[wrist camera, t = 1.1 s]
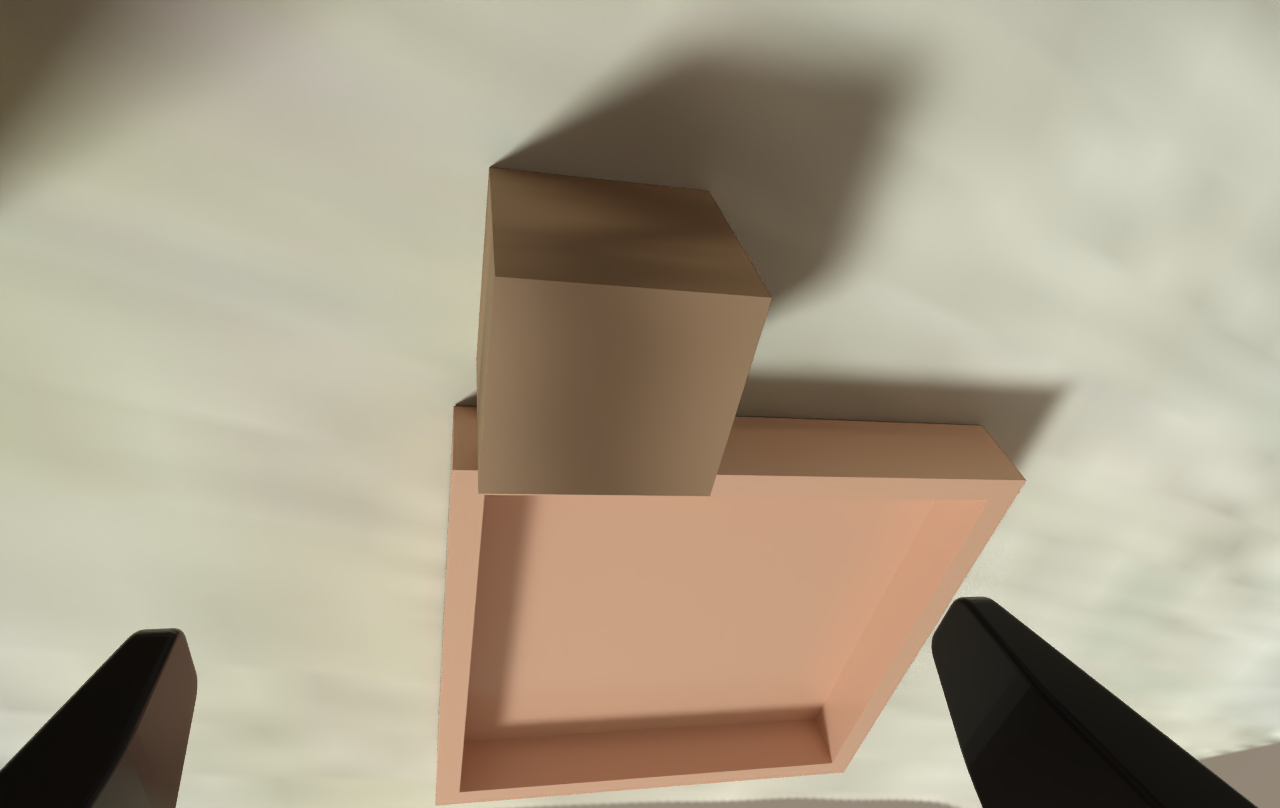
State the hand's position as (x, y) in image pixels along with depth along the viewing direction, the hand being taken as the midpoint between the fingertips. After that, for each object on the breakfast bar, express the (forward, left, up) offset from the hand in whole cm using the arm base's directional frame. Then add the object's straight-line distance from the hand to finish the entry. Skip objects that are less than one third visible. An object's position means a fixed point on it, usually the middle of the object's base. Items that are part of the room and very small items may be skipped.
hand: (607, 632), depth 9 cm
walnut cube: (-1, +1, -11) cm, 12 cm away
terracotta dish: (-6, +13, -11) cm, 19 cm away
